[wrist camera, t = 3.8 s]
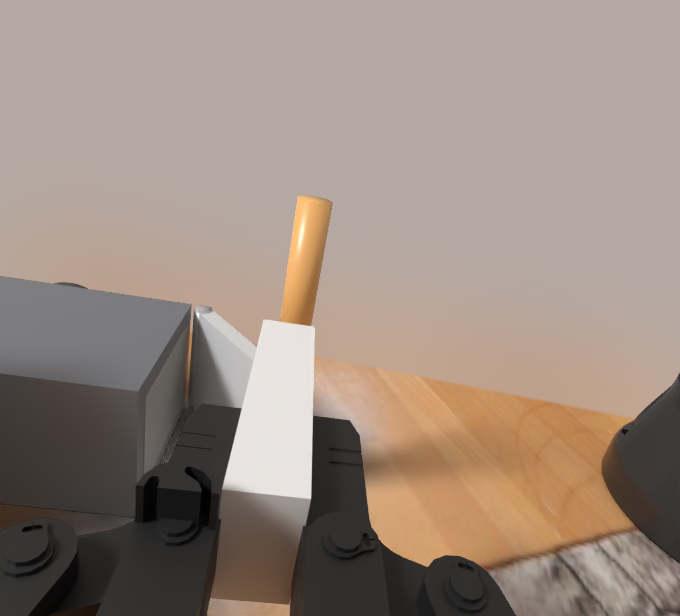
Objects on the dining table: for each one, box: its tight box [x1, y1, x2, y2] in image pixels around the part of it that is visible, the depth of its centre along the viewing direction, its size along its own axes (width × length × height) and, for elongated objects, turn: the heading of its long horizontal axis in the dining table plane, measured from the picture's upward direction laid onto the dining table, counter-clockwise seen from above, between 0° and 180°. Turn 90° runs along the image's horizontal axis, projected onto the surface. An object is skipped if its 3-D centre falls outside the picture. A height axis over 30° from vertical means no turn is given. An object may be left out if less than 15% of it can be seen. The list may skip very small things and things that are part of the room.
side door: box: [188, 195, 332, 410], centre depth 28 cm, size 2×11×17 cm, turn 42°
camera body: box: [0, 276, 191, 517], centre depth 29 cm, size 14×12×9 cm
